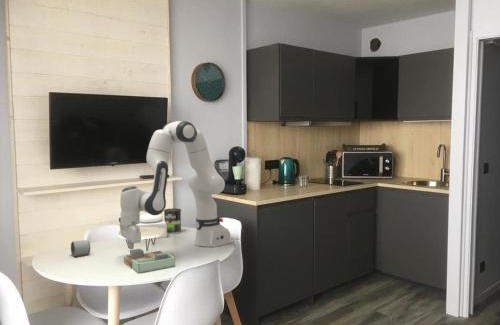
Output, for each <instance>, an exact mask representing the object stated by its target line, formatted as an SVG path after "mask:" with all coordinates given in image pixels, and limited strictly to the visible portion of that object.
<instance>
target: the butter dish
mask: <svg viewBox="0 0 500 325" xmlns="http://www.w3.org/2000/svg"><path fill="white" fill-rule="evenodd" d="M137 226H139V227H158V228H164V229H165V233H164V234H163V235H162V236H160V237H158V238H156V239H155V240H157V239H167V238H168V234H167V224H166V223H165V219H164V217H163V215H162V214H159V215H151V214H149V213H147V212H145V213H144V214H140V223H139V224H137Z"/></svg>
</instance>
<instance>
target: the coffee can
mask: <svg viewBox="0 0 500 325" xmlns="http://www.w3.org/2000/svg"><path fill="white" fill-rule="evenodd" d="M163 212H164V213H163V215H164V217H163V219H164V221H165V223H166V224H167V235H177V234H180V233H182V209H181V208H174V207H173V208H165V209H164V211H163Z"/></svg>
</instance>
